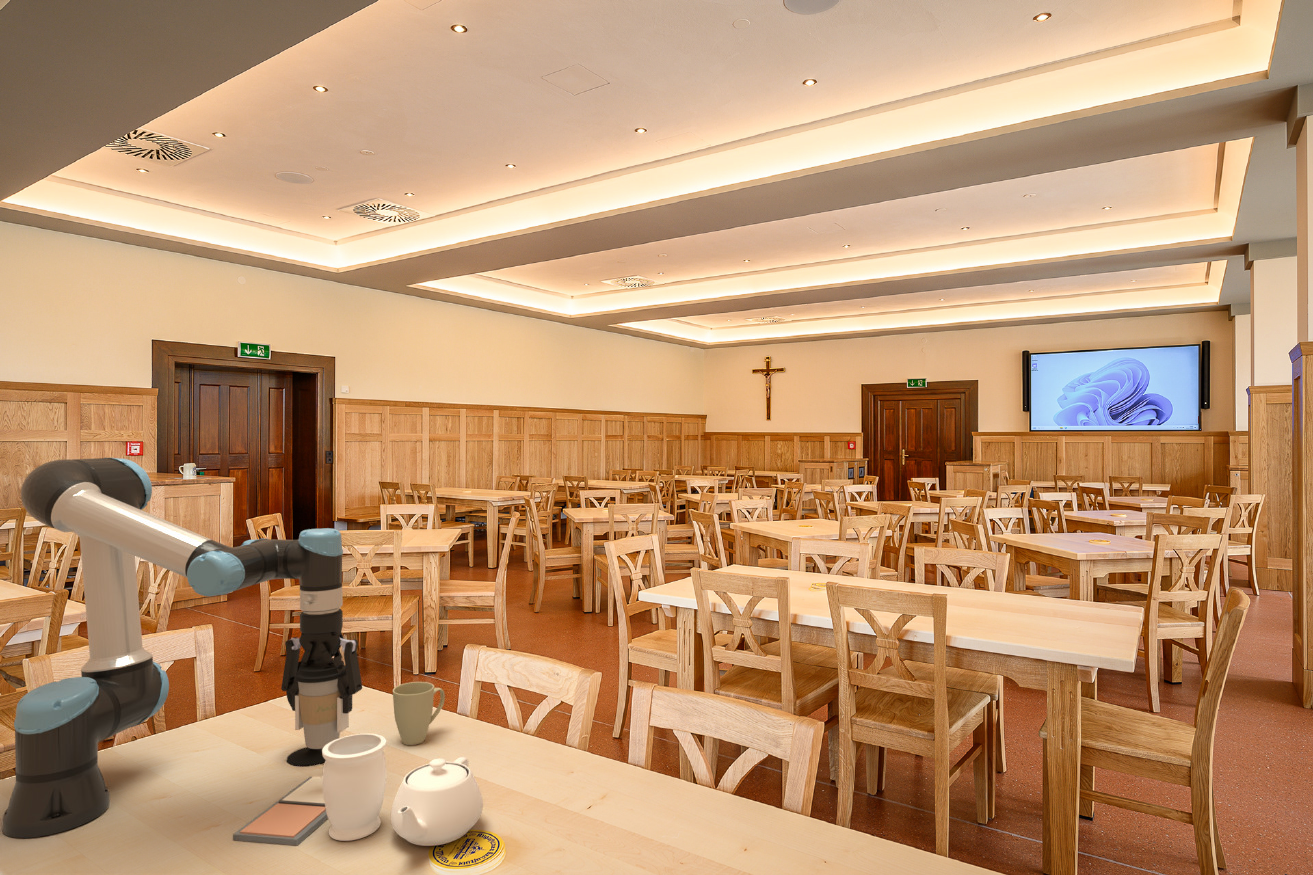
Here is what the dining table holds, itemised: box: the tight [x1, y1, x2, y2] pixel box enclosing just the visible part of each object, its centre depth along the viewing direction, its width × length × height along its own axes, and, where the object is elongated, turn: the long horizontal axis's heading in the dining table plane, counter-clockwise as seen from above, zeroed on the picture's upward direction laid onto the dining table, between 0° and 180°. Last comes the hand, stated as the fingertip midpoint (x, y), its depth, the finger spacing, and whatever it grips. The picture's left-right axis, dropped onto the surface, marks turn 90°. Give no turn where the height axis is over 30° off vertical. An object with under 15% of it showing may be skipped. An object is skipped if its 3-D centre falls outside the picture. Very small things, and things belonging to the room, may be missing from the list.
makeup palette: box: [232, 776, 329, 847], centre depth 138 cm, size 12×22×2 cm, turn 172°
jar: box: [321, 733, 388, 842], centre depth 132 cm, size 11×10×15 cm
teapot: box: [390, 756, 484, 847], centre depth 131 cm, size 25×16×12 cm, turn 170°
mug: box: [392, 681, 446, 746], centre depth 171 cm, size 11×10×12 cm
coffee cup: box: [294, 659, 347, 749], centre depth 144 cm, size 9×9×15 cm
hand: (322, 728), depth 144 cm, fingers closed on coffee cup, 8 cm apart
